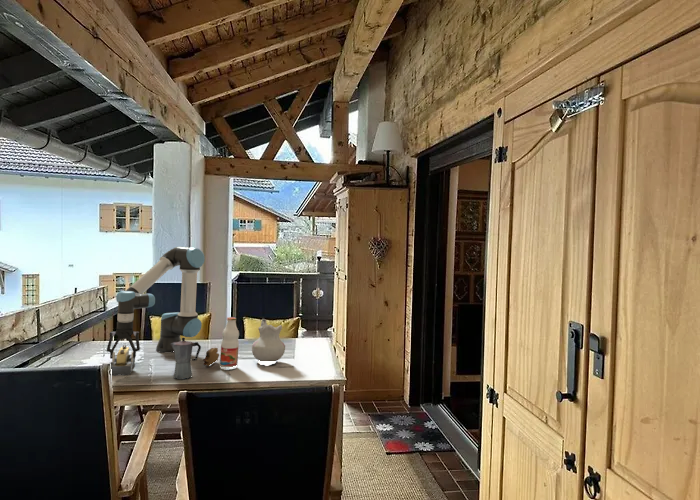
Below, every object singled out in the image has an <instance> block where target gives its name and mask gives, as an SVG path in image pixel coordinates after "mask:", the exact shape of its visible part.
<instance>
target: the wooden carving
mask: <svg viewBox="0 0 700 500" xmlns="http://www.w3.org/2000/svg"><path fill="white" fill-rule="evenodd" d="M218 351H219V349H218V348H217V347H211V348H210V349H208V350H207V351H206V353H205V358H203V360H202V361H203V366H205V365H206V366H207V367H209V365H210V364H212V363H213V362H215V361H216V360H217V361H218V360H219V356H220V353H218ZM215 363H216V362H215ZM206 366H205V367H206Z"/></svg>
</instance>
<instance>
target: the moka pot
mask: <svg viewBox="0 0 700 500" xmlns="http://www.w3.org/2000/svg"><path fill="white" fill-rule="evenodd" d="M170 345H172V348H173V350H174V352H173V353H174V358H175V359H174V360H175V364H174V365H175V366H174V373H173V379H175V378H177V379H176V380H185V379H184V378H187V379H190V378H192V377H193V372H192V363H191V361H193V362H195V361H197V360H198V358H199V354H200V352H201V348H202V346H201V345H200V344H199V343H198V341H195V342H193V341H187V340H186V337H181V341H180V342H174V343H172V344H170ZM193 347H198V348H197V351H196V354H195V357H194V358H192V355H193V354H192V353H193ZM191 358H192V359H191ZM191 376H192V377H191ZM189 377H190V378H189Z"/></svg>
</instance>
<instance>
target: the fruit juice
mask: <svg viewBox="0 0 700 500" xmlns="http://www.w3.org/2000/svg"><path fill="white" fill-rule="evenodd" d="M236 321H237V317H234V316H230V317H229V316H228V317H227V318H226V322H227V323H226V324H225V327H224V329H222V333H221V335H222V340H221V344H220V354H219V356H220V359H219V367H220V366H221V367H233V366H236V365H237V366H238V361H239V360H238V359H239V347H240V345H239V344H240V343H239V336H240V331H239V330H238V329H239V328H238V327H237V323H236Z"/></svg>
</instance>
